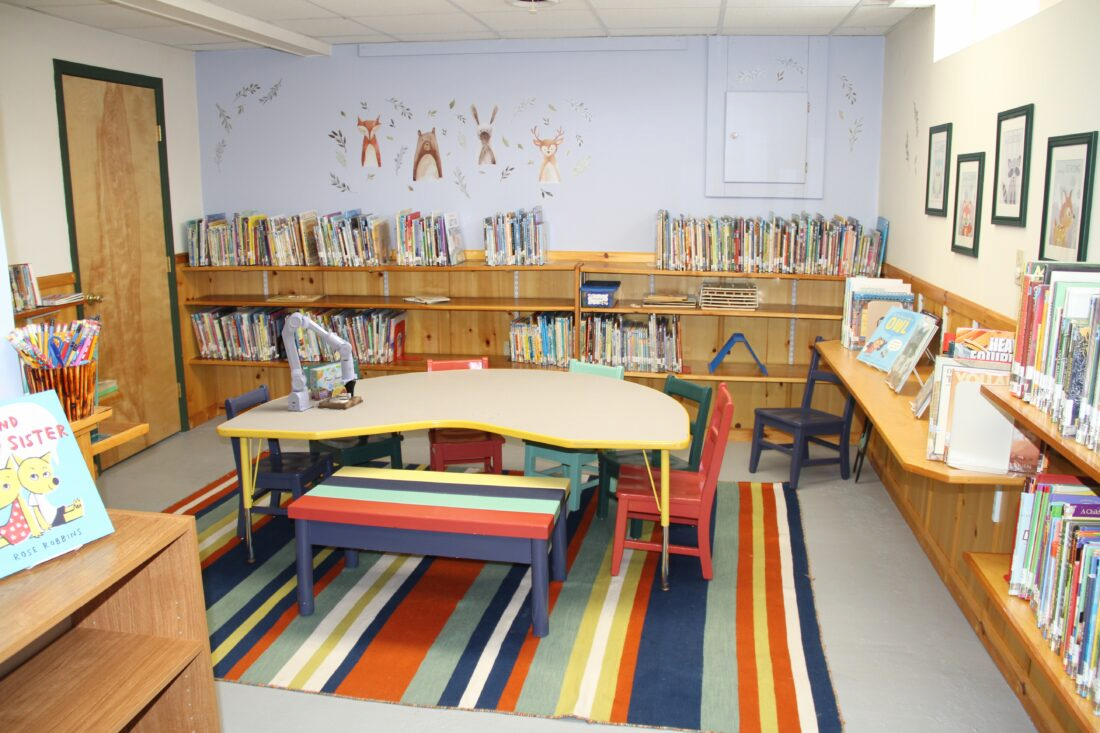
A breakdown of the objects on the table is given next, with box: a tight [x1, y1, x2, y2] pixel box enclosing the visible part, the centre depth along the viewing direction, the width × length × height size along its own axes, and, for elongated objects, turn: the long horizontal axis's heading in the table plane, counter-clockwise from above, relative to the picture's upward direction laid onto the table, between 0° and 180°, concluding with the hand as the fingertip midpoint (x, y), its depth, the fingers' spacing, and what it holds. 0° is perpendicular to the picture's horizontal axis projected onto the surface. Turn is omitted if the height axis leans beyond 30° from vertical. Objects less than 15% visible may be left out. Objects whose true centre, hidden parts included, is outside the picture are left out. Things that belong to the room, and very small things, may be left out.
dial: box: [329, 393, 351, 403], centre depth 406 cm, size 10×10×4 cm
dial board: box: [316, 395, 364, 411], centre depth 406 cm, size 15×15×3 cm
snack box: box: [308, 362, 347, 401], centre depth 425 cm, size 21×6×15 cm, turn 146°
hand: (350, 396), depth 406 cm, fingers closed, pressing on dial
